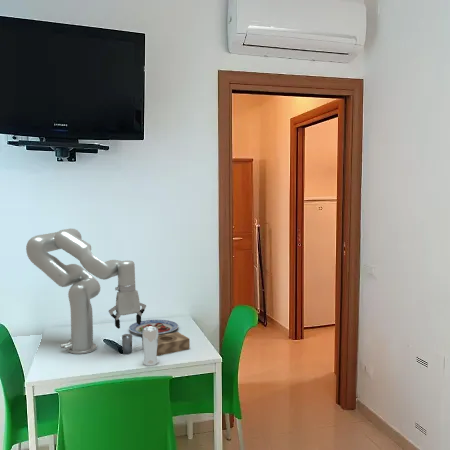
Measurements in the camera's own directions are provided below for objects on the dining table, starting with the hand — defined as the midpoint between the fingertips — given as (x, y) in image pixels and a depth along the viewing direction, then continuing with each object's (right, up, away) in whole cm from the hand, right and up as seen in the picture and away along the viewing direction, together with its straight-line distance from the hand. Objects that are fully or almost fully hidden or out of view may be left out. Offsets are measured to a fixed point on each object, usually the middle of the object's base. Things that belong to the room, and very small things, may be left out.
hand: (128, 325), depth 203 cm
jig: (+16, -12, +6) cm, 21 cm away
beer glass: (+12, -14, -11) cm, 21 cm away
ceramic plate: (+6, -10, +35) cm, 37 cm away
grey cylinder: (-1, -12, +1) cm, 12 cm away
